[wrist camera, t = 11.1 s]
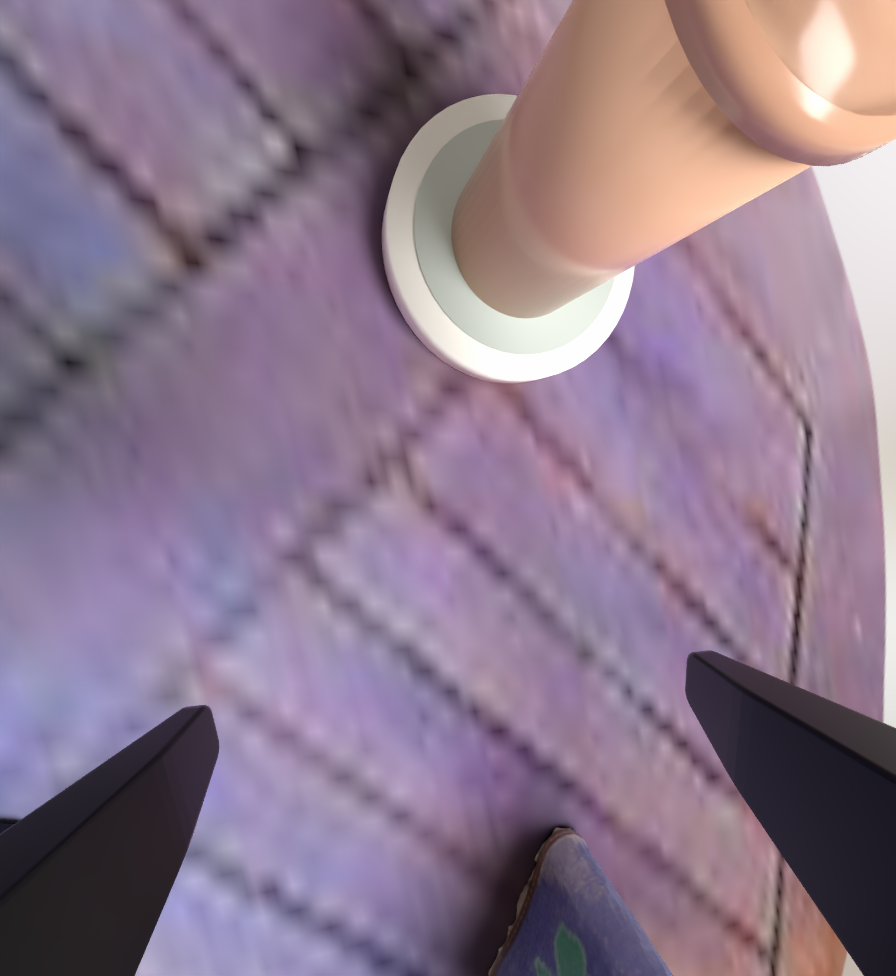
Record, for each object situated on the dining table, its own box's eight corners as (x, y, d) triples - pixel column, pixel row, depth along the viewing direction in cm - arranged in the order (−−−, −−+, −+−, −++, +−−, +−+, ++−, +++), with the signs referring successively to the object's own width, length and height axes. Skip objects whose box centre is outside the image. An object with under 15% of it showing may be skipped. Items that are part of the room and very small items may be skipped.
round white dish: (347, 327, 18) (350, 316, 17) (428, 67, 18) (439, 31, 17) (573, 417, 22) (593, 414, 20) (642, 196, 22) (668, 176, 20)
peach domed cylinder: (450, 326, 18) (695, 109, 6) (437, 145, 17) (689, -471, 6) (595, 325, 20) (992, 156, 8) (590, 162, 19) (1017, -277, 7)
